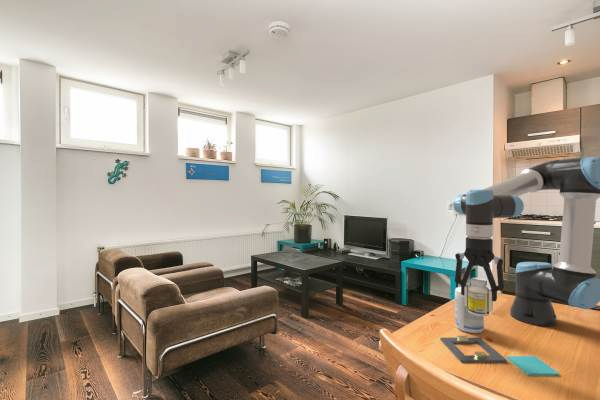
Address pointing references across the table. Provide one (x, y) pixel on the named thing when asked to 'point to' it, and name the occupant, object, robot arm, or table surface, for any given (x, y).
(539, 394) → the table surface
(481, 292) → the pill bottle
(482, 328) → the supplement tub
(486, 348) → the socket plate
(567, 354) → the table surface
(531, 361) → the coaster
